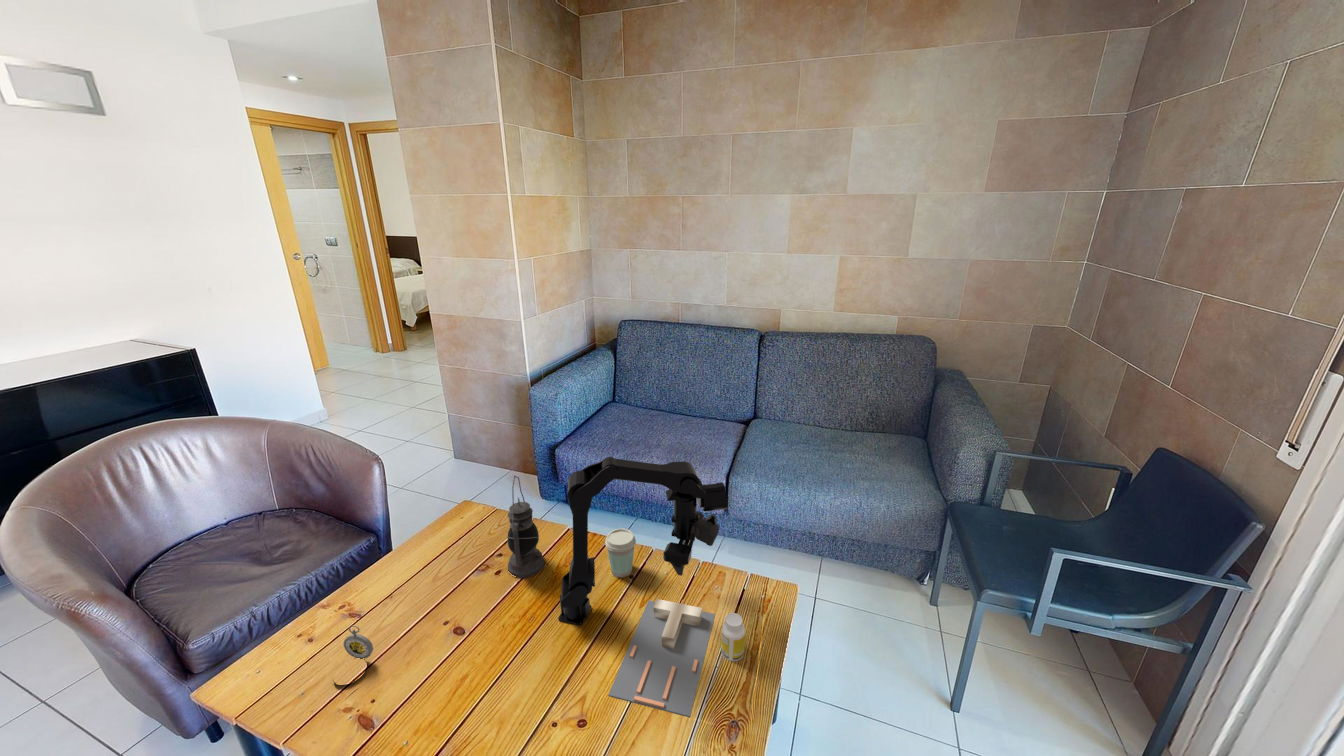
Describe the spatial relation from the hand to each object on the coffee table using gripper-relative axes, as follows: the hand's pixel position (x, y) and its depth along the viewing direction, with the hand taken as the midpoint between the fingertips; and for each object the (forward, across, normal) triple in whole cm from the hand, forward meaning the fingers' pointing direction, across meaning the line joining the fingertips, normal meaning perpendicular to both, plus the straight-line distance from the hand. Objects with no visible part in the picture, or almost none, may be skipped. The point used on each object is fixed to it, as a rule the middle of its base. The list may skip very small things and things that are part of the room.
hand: (684, 563), depth 128 cm
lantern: (+12, 0, +48) cm, 49 cm away
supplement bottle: (+12, -13, -15) cm, 23 cm away
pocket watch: (+12, -41, +67) cm, 79 cm away
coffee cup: (+12, +6, +20) cm, 24 cm away
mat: (+12, -17, 0) cm, 21 cm away
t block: (+11, -11, 0) cm, 16 cm away
